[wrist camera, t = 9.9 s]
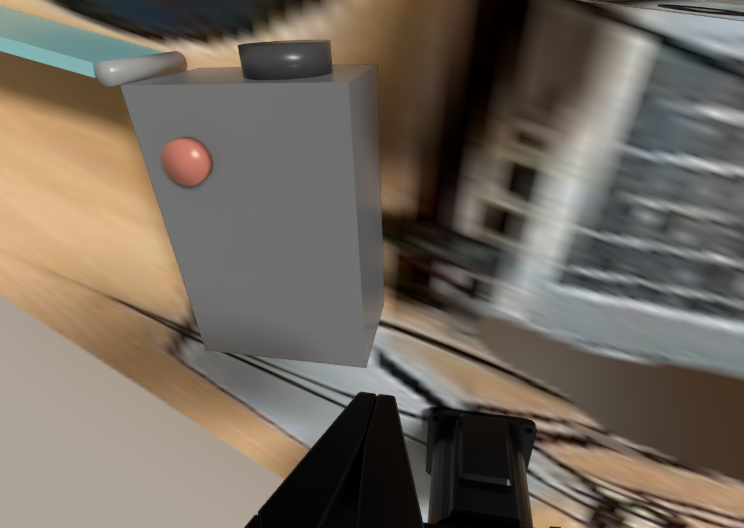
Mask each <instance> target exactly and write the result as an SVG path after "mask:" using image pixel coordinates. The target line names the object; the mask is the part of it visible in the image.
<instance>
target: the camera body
mask: <svg viewBox="0 0 744 528" xmlns="http://www.w3.org/2000/svg"><path fill="white" fill-rule="evenodd" d="M238 49H239V55H240V60H241V66H242V67H228V68H197V69H193V70H188V71H183V72H179V73H174V74H170V75H165V76H161V77H156V78H151V79H147V80H142V81H138V82H133V83H129V84H124V85H120V87H121V90H122V93H123V96H124V99H125V102H126V105H127V108H128V111H129V114H130V117H131V121H132V124H133V127H134V130H135V133H136V136H137V139H138V142H139V145H140V148H141V152H142V155H143V158H144V161H145V164H146V167H147V170H148V173H149V176H150V179H151V182H152V186H153V189H154V192H155V195H156V198H157V201H158V204H159V207H160V210H161V213H162V216H163V220H164V223H165V226H166V229H167V232H168V235H169V238H170V241H171V244H172V247H173V250H174V254H175V257H176V260H177V263H178V266H179V269H180V272H181V275H182V278H183V281H184V285H185V288H186V291H187V294H188V297H189V300H190V303H191V306H192V309H193V312H194V315H195V319H196V322H197V325H198V328H199V331H200V334H201V337H202V340H203V343H204V346H205V349H206V350H209V351H218V352H227V353H235V354H244V355H253V356H262V357H271V358H280V359H289V360H298V361H307V362H316V363H325V364H334V365H343V366H352V367H361V368H366V367H367V363H368V360H369V356H370V352H371V349H372V345H373V342H374V338H375V334H376V331H377V327H378V323H379V320H380V316H381V313H382V309H383V305H384V281H383V246H382V211H381V175H380V140H379V105H378V69H377V64H364V65H332V58H331V45H330V40H292V41H273V42H259V43H249V44H242V45H238Z"/></svg>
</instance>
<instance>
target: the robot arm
mask: <svg viewBox="0 0 744 528" xmlns="http://www.w3.org/2000/svg"><path fill="white" fill-rule="evenodd" d="M536 433H537V429H536V424H535V423H534V422H533V421H531V420H527V419H519V418H511V417H503V416H495V415H487V414H479V413H471V412H463V411H455V410H447V409H439V408H434V409H431V410H430V411H429V418H428V439H427V460H426V472H427V473H428V474H430V475H431V484H430V498H429V512H428V523H424V522H423V520H422V516H421V511H420V507H419V502H418V497H417V493H416V488H415V484H414V479H413V475H412V470H411V466H410V461H409V457H408V452H407V448H406V443H405V439H404V434H403V430H402V425H401V421H400V416H399V412H398V407H397V403H396V399H395V397H394V396H391V395H383V394H379V395H378V396H377V395H376V394H374V393H367V392H360V393H358V394H357V395H356V396H355V397H354V399H353V400H352V401H351V402H350V403H349V405H348V406H347V407H346V408H345V409H344V410H343V412H342V413H341V414H340V415H339V416H338V418H337V419H336V420H335V421H334V422H333V423H332V425H331V426H330V427H329V428H328V429H327V431H326V432H325V433H324V434H323V435H322V436H321V438H320V439H319V440H318V441H317V442H316V444H315V445H314V446H313V447H312V448H311V449H310V451H309V452H308V453H307V454H306V455H305V457H304V458H303V459H302V460H301V461H300V462H299V464H298V465H297V466H296V467H295V468H294V469H293V471H292V472H291V473H290V474H289V475H288V477H287V478H286V479H285V480H284V481H283V483H282V484H281V485H280V486H279V487H278V489H277V490H276V491H275V492H274V493H273V494H272V496H271V497H270V498H269V499H268V500H267V501H266V503H265V504H264V505H263V506H262V507H261V509H260V510H259V511H258V515H254V517H253V518H252V519H251V520H250V521H249V522H248V524H247V525H246V526H245V527H244V528H533V522H532V514H531V507H530V499H529V492H528V484H527V477H526V472H527V468H528V464H529V460H530V456H531V452H532V449H533V445H534V441H535V437H536ZM550 528H561V527H550Z"/></svg>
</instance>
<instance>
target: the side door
mask: <svg viewBox="0 0 744 528" xmlns="http://www.w3.org/2000/svg"><path fill="white" fill-rule="evenodd" d="M0 51H2V52H5V53H9V54H12V55H16V56H19V57H23V58H26V59H30V60H33V61H37V62H40V63H44V64H47V65H51V66H54V67H58V68H62V69H65V70H69V71H72V72H76V73H79V74H83V75H86V76H90V77H93V78H97V80H98V81H99V82H100V83H101V84H102V85H104V86H106V87H112V86H117V85H121V84H126V83H130V82H135V81H140V80H144V79H149V78H153V77H158V76H163V75H167V74H172V73H177V72H181V71H184V70H185V69H186V65H187V63H186V59H185V57H184V56H183V55H182V54H181V53H180V52H178V51H173V52H162V51H159V50H155V49H151V48H148V47H144V46H141V45H137V44H134V43H130V42H126V41H123V40H119V39H116V38H112V37H109V36H105V35H101V34H98V33H94V32H91V31H87V30H84V29H80V28H76V27H73V26H69V25H66V24H62V23H59V22H55V21H52V20H48V19H44V18H41V17H37V16H34V15H30V14H27V13H23V12H19V11H16V10H12V9H9V8H5V7H2V6H0Z"/></svg>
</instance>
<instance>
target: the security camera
mask: <svg viewBox="0 0 744 528" xmlns="http://www.w3.org/2000/svg"><path fill="white" fill-rule="evenodd" d="M579 1H586V2H594V3H602V4H610V5H618V6H626V7H634V8H642V9H649V10H657V11H665V12H673V13H681V14H689V15H697V16H705V17H713V18H720V19H728V20H736V21H744V0H579Z"/></svg>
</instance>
